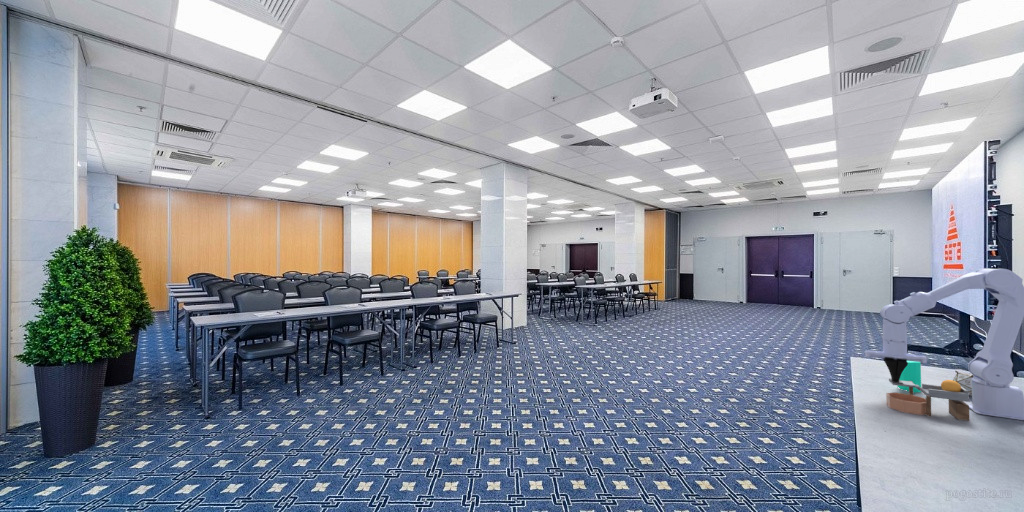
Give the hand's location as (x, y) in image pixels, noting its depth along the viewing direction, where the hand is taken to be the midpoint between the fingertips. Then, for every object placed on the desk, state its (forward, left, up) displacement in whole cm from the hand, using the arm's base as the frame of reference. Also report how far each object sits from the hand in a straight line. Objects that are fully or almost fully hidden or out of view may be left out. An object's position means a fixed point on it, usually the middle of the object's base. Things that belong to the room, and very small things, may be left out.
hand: (895, 381), depth 127 cm
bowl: (-1, +9, -6) cm, 11 cm away
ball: (-10, +9, +2) cm, 14 cm away
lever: (-6, +5, -1) cm, 8 cm away
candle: (-7, -16, -6) cm, 19 cm away
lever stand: (-8, +5, -6) cm, 12 cm away
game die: (-22, -18, -7) cm, 29 cm away
